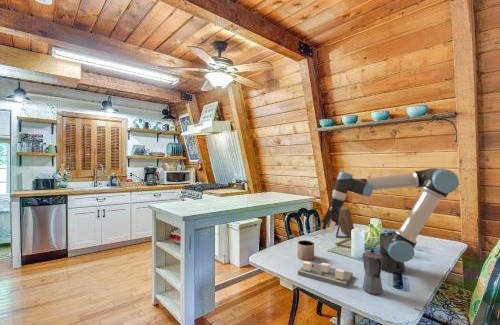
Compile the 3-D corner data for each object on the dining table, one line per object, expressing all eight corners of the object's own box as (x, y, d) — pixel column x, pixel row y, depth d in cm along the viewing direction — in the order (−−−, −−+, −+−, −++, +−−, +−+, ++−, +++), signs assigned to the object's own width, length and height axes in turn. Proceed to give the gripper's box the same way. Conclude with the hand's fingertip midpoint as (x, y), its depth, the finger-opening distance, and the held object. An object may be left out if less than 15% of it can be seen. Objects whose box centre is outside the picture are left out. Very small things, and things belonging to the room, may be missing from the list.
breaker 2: (344, 277, 137) (344, 270, 137) (343, 280, 134) (343, 272, 134) (336, 275, 139) (336, 268, 139) (335, 278, 137) (335, 270, 137)
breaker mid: (329, 271, 145) (329, 264, 145) (327, 273, 142) (327, 265, 142) (322, 269, 147) (322, 262, 147) (320, 271, 145) (320, 264, 145)
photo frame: (345, 231, 230) (345, 203, 230) (356, 239, 209) (356, 208, 208) (329, 231, 230) (329, 203, 230) (338, 239, 208) (337, 208, 208)
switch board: (352, 276, 144) (352, 272, 144) (345, 287, 131) (345, 283, 131) (307, 265, 158) (307, 262, 158) (297, 274, 146) (297, 270, 146)
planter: (314, 261, 165) (314, 246, 165) (297, 259, 167) (297, 245, 167) (313, 254, 175) (314, 240, 175) (297, 253, 178) (297, 239, 177)
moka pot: (374, 283, 136) (375, 245, 136) (391, 299, 121) (392, 256, 120) (356, 283, 136) (357, 245, 135) (371, 299, 120) (372, 256, 120)
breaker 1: (311, 269, 147) (311, 262, 147) (309, 271, 144) (309, 264, 144) (305, 267, 149) (305, 260, 149) (302, 269, 147) (303, 262, 147)
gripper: (338, 196, 161) (327, 228, 163) (323, 196, 141) (312, 232, 143) (350, 200, 156) (339, 233, 158) (337, 201, 136) (324, 239, 138)
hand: (326, 233), depth 150 cm, fingers open, 13 cm apart
